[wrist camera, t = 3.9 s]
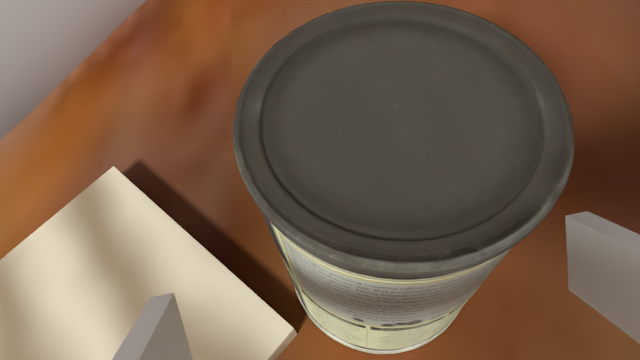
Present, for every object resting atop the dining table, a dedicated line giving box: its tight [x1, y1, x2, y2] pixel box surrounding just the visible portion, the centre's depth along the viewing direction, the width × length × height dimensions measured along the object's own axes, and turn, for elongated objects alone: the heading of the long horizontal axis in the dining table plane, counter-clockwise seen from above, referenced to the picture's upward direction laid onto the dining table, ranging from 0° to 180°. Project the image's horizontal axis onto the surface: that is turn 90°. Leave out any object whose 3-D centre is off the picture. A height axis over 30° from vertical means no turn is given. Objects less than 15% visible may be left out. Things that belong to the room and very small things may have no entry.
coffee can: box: [233, 1, 574, 354], centre depth 20 cm, size 10×10×14 cm
